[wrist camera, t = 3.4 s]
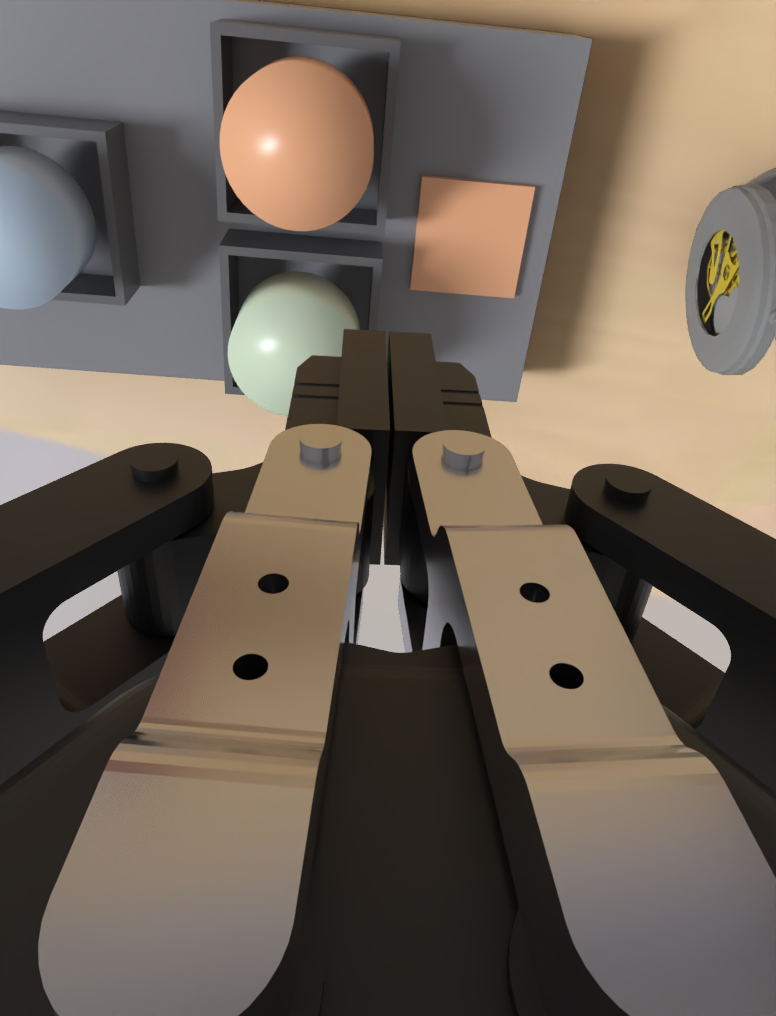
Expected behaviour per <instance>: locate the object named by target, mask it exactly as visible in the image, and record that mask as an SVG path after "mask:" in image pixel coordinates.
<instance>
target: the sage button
mask: <svg viewBox="0 0 776 1016" xmlns="http://www.w3.org/2000/svg"><path fill="white" fill-rule="evenodd" d="M344 329H355V330H360V326H359V320H358V317H357V313H356V311H355V309H354V306H353V305H352V303H351V301H350V300H349V298H348V297H347V296H346V295H345V293H344V292H343V291H342V290H341V289H340V288H338V287H337V286H336V285H335V284H333V283H332V282H330V281H328V280H327V279H325V278H323V277H320V276H318V275H315V274H311V273H307V272H296V271H292V272H284V273H280V274H276V275H273V276H271V277H268V278H267V279H265V280H263V281H262V282H260V283H259V284H258V285H257V286H255V287H254V288H253V289H252V291H251V292H250V293H249V294H248V296H247V297H246V299H245V301H244V303H243V305H242V307H241V309H240V312H239V314H238V317H237V319H236V322H235V324H234V327H233V329H232V332H231V335H230V338H229V343H228V363H229V367H230V371H231V373H232V376H233V378H234V380H235V382H236V383H237V385H238V387H239V388H240V389H241V391H242V392H243V393H244V394H245V395H246V396H247V397H248V398H249V399H250V400H251V401H252V402H254V403H255V404H257V405H258V406H260V407H261V408H263V409H265V410H267V411H269V412H272V413H275V414H278V415H282V416H287V417H288V413H289V408H290V403H291V398H292V392H293V387H294V381H295V376H296V371H297V367H298V366H300V365H301V364H302V363H303V362H304V361H306V360H307V359H308V358H309V357H310V356H312V355H317V356H337V357H342V344H343V331H344Z"/></svg>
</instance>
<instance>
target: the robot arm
mask: <svg viewBox="0 0 776 1016" xmlns="http://www.w3.org/2000/svg"><path fill="white" fill-rule="evenodd" d="M383 529H384V564H385V565H400V573H401V575H400V585H399V595H398V608H399V614H400V620H401V627H402V633H403V640H404V646H405V653H394V652H388V651H384V650H379V649H375V648H371V647H366V646H362V645H358V637H359V628H360V621H361V613H362V604H363V588H364V587H365V585H366V583H367V581H368V577H369V564H377V565H378V564H379V565H380V557H381V544H382V530H383ZM116 571H118V576H119V582H120V587H121V592H122V595H120V596H119V597H117V598H115V599H114V600H112V601H110V602H109V603H107V604H106V605H104V606H102V607H100V608H99V609H97V610H95V611H94V612H92V613H91V614H89V615H87V616H86V617H84V618H82V619H81V620H79V621H77V622H76V623H74V624H72V625H71V626H69V627H67V628H66V629H64V630H63V631H61V632H59V633H58V634H56V635H54V636H52V637H51V638H49V639H47V640H46V641H44V642H43V638H42V636H43V629H44V626H45V623H46V621H47V619H48V618H49V616H50V615H51V613H52V612H53V611H54V610H55V609H56V608H57V607H58V606H59V605H60V604H61V603H63V602H64V601H66V600H67V599H69V598H71V597H73V596H74V595H76V594H78V593H79V592H81V591H83V590H85V589H86V588H88V587H90V586H92V585H93V584H95V583H97V582H98V581H100V580H102V579H104V578H106V577H107V576H109V575H111V574H113V573H114V572H116ZM652 586H654V587H655V588H657V589H659V590H660V591H662V592H663V593H665V594H666V595H668V596H669V597H671V598H673V599H674V600H676V601H677V602H679V603H680V604H682V605H684V606H685V607H687V608H688V609H690V610H691V611H693V612H695V613H696V614H698V615H699V616H701V617H702V618H704V619H706V620H707V621H709V622H710V623H712V624H713V625H714V626H716V627H717V628H718V629H719V630H720V631H721V632H722V634H723V635H724V636H725V638H726V640H727V642H728V644H729V646H730V650H731V661H730V664H729V667H728V669H727V671H726V673H724V672H723V671H721V670H720V669H718V668H717V667H715V666H714V665H712V664H711V663H709V662H708V661H706V660H705V659H703V658H702V657H700V656H699V655H697V654H696V653H694V652H693V651H692V650H690V649H689V648H687V647H686V646H684V645H683V644H681V643H680V642H678V641H677V640H675V639H674V638H672V637H671V636H669V635H668V634H666V633H665V632H663V631H662V630H660V629H659V628H658V627H656V626H654V625H653V624H651V623H650V622H649V621H647V620H645V619H644V618H643V617H642V614H643V612H644V609H645V606H646V603H647V600H648V597H649V595H650V592H651V589H652ZM0 1016H776V539H774V538H773V537H771V536H769V535H767V534H765V533H763V532H761V531H759V530H758V529H756V528H754V527H752V526H750V525H748V524H746V523H744V522H742V521H741V520H739V519H737V518H735V517H733V516H731V515H729V514H727V513H725V512H724V511H722V510H720V509H718V508H716V507H714V506H712V505H710V504H709V503H707V502H705V501H703V500H701V499H699V498H697V497H695V496H693V495H692V494H690V493H688V492H686V491H684V490H682V489H680V488H678V487H676V486H675V485H673V484H671V483H669V482H667V481H665V480H663V479H661V478H660V477H658V476H656V475H654V474H651V473H649V472H647V471H644V470H641V469H638V468H635V467H631V466H626V465H619V464H597V465H592V466H588V467H586V468H583V469H582V470H580V471H578V472H577V473H576V474H575V476H574V478H573V481H572V485H571V489H566V488H562V487H558V486H553V485H549V484H545V483H541V482H537V481H534V480H531V479H528V478H526V477H524V476H521V475H520V472H519V470H518V468H517V466H516V463H515V461H514V459H513V457H512V455H511V453H510V451H509V450H508V449H507V448H506V447H505V446H504V445H503V444H501V443H500V442H498V441H496V440H495V439H493V438H491V434H490V430H489V426H488V423H487V419H486V415H485V412H484V408H483V407H482V401H481V397H480V394H479V389H478V386H477V382H476V378H475V376H474V375H473V374H472V373H471V372H469V371H468V370H467V369H466V368H465V367H464V366H463V365H462V364H460V363H456V362H437V361H436V360H435V354H434V349H433V343H432V337H431V334H430V333H414V332H395V331H389V333H388V342H387V354H386V333H385V331H374V330H355V329H344V331H343V344H342V357H337V356H317V355H312V356H310V357H309V358H308V359H307V360H306V361H304V362H303V363H302V364H301V365H300V366H298V367H297V371H296V376H295V381H294V387H293V392H292V398H291V403H290V408H289V413H288V418H287V424H286V429H285V431H283V432H281V433H280V434H278V435H277V436H276V437H275V438H274V439H273V440H272V441H271V443H270V445H269V448H268V451H267V454H266V456H265V459H264V462H262V463H260V464H257V465H255V466H252V467H248V468H245V469H240V470H234V471H227V472H220V473H213V474H212V466H211V462H210V460H209V459H208V457H207V456H206V455H204V454H203V453H202V452H200V451H199V450H197V449H194V448H192V447H189V446H185V445H181V444H175V443H152V444H144V445H139V446H135V447H131V448H128V449H126V450H123V451H120V452H118V453H116V454H114V455H111V456H109V457H107V458H105V459H103V460H100V461H98V462H96V463H94V464H91V465H89V466H87V467H85V468H83V469H80V470H78V471H76V472H73V473H71V474H69V475H67V476H65V477H62V478H60V479H58V480H56V481H53V482H51V483H49V484H47V485H45V486H42V487H40V488H38V489H36V490H33V491H31V492H29V493H27V494H25V495H22V496H20V497H18V498H16V499H13V500H11V501H9V502H7V503H4V504H2V505H0Z"/></svg>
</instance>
